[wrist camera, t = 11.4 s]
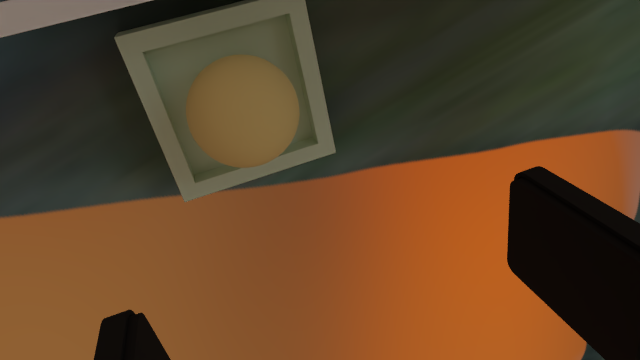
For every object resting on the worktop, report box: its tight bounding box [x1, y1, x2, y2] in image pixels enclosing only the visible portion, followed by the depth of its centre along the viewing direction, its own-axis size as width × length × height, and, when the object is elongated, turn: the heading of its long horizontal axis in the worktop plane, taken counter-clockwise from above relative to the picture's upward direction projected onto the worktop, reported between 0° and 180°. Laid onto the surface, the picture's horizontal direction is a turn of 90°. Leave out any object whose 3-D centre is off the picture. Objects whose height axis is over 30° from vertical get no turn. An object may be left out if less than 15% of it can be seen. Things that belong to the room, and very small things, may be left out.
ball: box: [186, 54, 300, 168], centre depth 23 cm, size 6×6×6 cm
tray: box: [114, 0, 336, 202], centre depth 26 cm, size 10×10×2 cm
